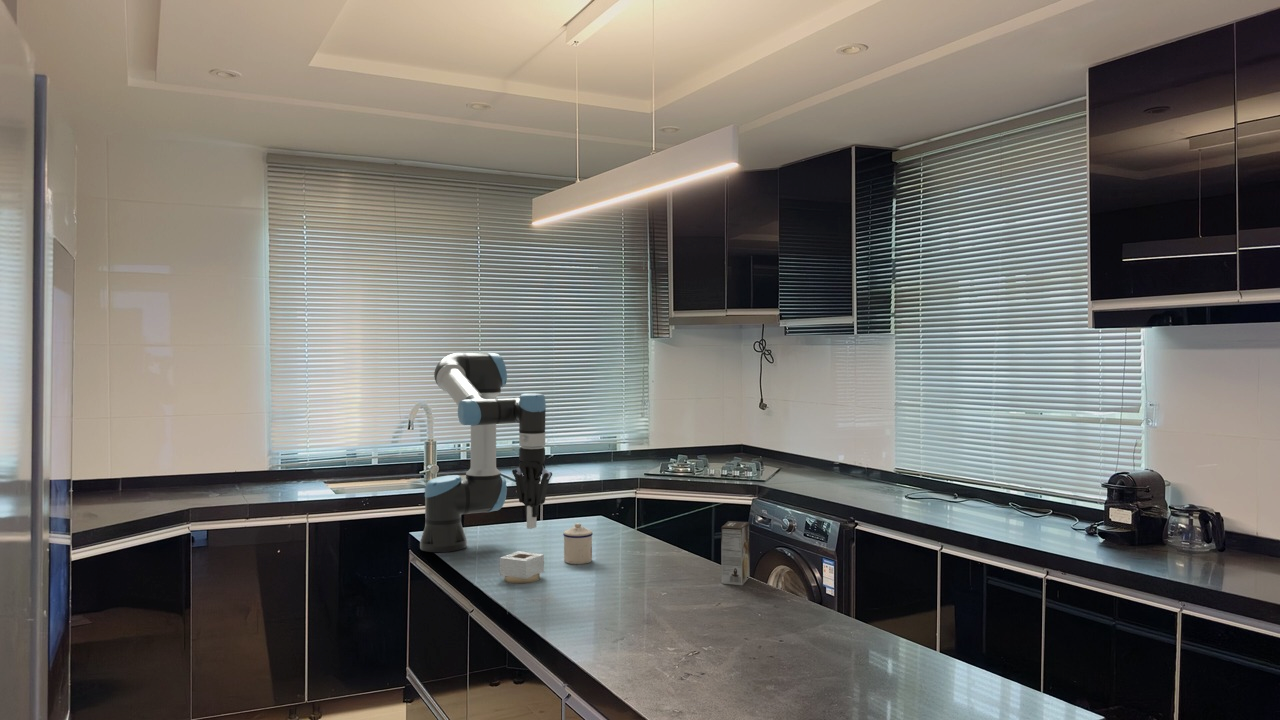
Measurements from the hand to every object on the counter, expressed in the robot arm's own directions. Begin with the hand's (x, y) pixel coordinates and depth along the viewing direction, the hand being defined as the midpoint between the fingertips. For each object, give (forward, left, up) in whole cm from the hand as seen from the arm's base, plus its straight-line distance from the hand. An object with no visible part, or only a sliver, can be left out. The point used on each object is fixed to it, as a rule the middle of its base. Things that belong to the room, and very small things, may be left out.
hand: (531, 527), depth 247 cm
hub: (+3, -3, -14) cm, 15 cm away
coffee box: (+22, +55, -14) cm, 61 cm away
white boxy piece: (+3, -3, -12) cm, 13 cm away
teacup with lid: (-14, +16, -14) cm, 26 cm away
